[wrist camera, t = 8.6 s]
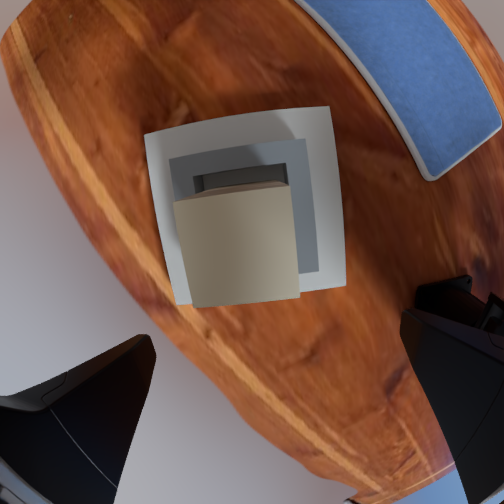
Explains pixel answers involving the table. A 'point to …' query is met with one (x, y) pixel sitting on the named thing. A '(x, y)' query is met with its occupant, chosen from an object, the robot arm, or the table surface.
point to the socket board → (252, 170)
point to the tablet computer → (414, 75)
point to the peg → (239, 244)
